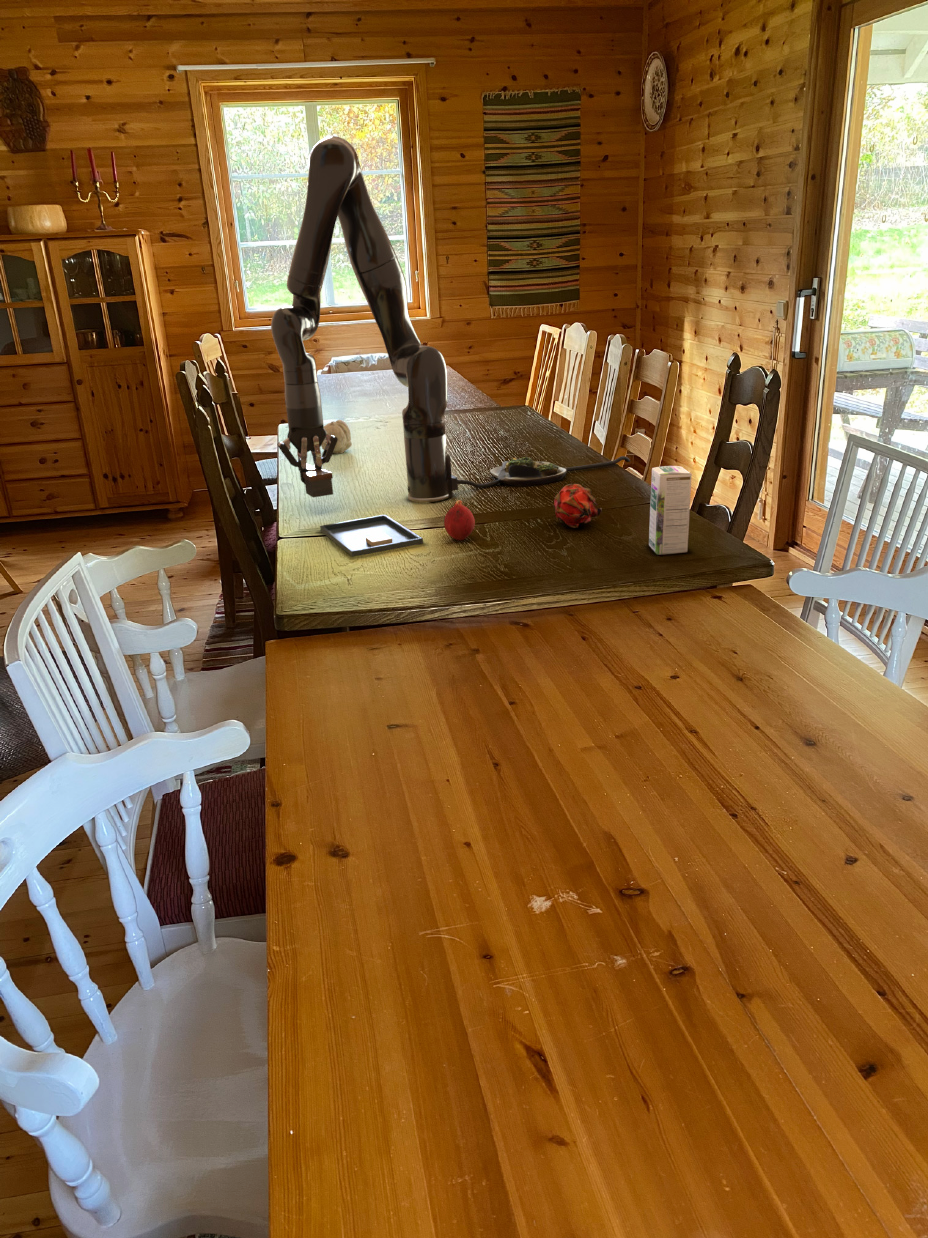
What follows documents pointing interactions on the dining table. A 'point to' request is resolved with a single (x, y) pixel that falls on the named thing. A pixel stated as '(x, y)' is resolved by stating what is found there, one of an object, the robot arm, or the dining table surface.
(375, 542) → the tan flat square block
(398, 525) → the tray
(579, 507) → the dragon fruit
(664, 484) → the syrup box
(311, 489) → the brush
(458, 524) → the onion
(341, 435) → the garlic bulb
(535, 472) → the salad plate
